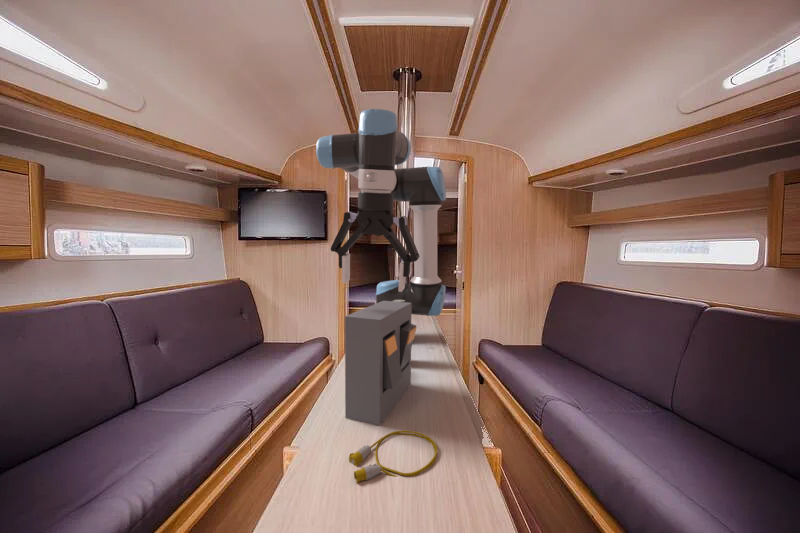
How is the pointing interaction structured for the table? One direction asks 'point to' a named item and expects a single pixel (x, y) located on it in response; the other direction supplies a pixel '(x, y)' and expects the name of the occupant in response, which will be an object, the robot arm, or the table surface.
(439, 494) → the table surface
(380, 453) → the table surface
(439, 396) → the table surface
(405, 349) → the panel
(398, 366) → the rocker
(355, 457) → the extension cord
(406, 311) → the block
